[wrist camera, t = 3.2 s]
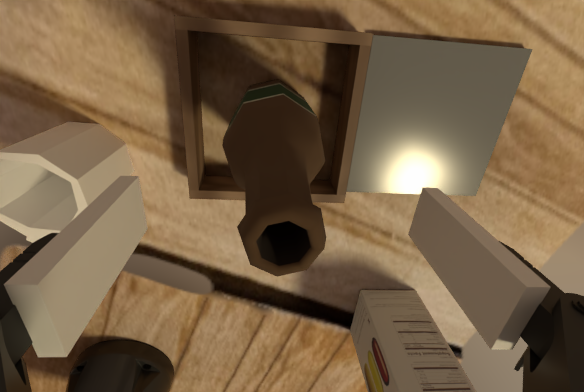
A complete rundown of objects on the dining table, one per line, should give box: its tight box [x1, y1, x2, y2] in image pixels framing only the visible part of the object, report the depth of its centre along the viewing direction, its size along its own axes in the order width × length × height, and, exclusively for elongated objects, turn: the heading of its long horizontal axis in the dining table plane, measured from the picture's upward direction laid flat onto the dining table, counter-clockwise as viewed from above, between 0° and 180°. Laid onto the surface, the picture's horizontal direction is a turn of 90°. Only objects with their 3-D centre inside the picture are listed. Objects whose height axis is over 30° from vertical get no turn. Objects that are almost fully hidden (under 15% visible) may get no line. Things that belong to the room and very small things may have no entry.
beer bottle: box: [223, 79, 326, 276], centre depth 23 cm, size 8×8×24 cm
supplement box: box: [350, 290, 476, 392], centre depth 41 cm, size 10×9×17 cm
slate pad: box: [346, 35, 532, 196], centre depth 35 cm, size 17×17×1 cm
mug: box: [0, 122, 134, 243], centre depth 30 cm, size 12×9×10 cm
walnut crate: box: [174, 15, 373, 203], centre depth 31 cm, size 17×17×4 cm
